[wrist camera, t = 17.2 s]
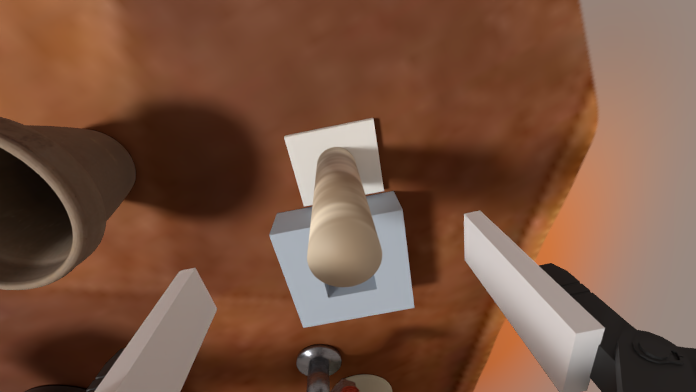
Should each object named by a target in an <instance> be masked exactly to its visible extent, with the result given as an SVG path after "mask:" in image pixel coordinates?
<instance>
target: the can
mask: <svg viewBox="0 0 696 392" xmlns="http://www.w3.org/2000/svg"><path fill="white" fill-rule="evenodd" d="M345 379H347V380H350V381H353V382H355V386H356V387H357V388H358V389H359V392H392V388H391V386H390V384H389V383H388V382H387V381H386V380H385V379H383V378H381V377H379V376H375V375H369V374H361V375H354V376H350V377H347V378H345ZM338 383H339V382H338ZM338 383H337V384H338ZM337 384H336V385H337ZM336 385H335V386H336ZM335 386H334V387H335Z"/></svg>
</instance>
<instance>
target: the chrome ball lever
mask: <svg viewBox="0 0 696 392" xmlns="http://www.w3.org/2000/svg"><path fill="white" fill-rule="evenodd" d="M330 392H359V389H358V388H357V387H356V386H355V382H353V381H350V380H347V379H344V378H342V379H341V380H340V381H339V383H338V384H337V385H336V386H335V387H334V388H333V389H332V390H331V391H330Z"/></svg>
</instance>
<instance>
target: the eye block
mask: <svg viewBox="0 0 696 392" xmlns="http://www.w3.org/2000/svg"><path fill="white" fill-rule="evenodd" d="M366 199H367V202H368V205H369V208H370V212H371V215H372V218H373V222H374V225H375V228H376V232H377V235H378V238H379V242H380V245H381V249H382V261H381V264H380V267H379V269H378V270H377V272H376V273H375V274H374V275H373V276H372V277H371V278H370V279H368V280H367V281H365V282H363V283H361V284H359V285H356V286H351V287H335V286H331V285H328V284H325V283H323V282H322V281H320V280H319V279H317V278H316V277H315V276H314V275H313V273H312V272H311V270H310V268H309V266H308V262H307V252H308V243H309V234H310V224H311V215H312V207H308V208H303V209H298V210H293V211H288V212H283V213H277V215H276V218H275V221H274V223H273V226H272V229H271V232H270V235H269V236H270V239H271V241H272V244H273V247H274V249H275V252H276V255H277V258H278V260H279V263H280V266H281V268H282V271H283V274H284V276H285V279H286V282H287V285H288V287H289V290H290V293H291V295H292V298H293V301H294V303H295V306H296V309H297V312H298V314H299V317H300V320H301V322H302V325H303V328H305V327H310V326H316V325H321V324H327V323H332V322H338V321H343V320H349V319H355V318H360V317H366V316H371V315H377V314H382V313H388V312H393V311H399V310H404V309H410V308H414V301H413V293H412V284H411V276H410V267H409V259H408V251H407V242H406V234H405V225H404V217H403V209H402V207H401V205H400V203H399V201H398V199H397V197H396V195H395V193H394V191H391V192H386V193H380V194H375V195H370V196H366Z"/></svg>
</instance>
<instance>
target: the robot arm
mask: <svg viewBox="0 0 696 392" xmlns="http://www.w3.org/2000/svg"><path fill="white" fill-rule="evenodd" d="M464 243H465V261H466V262H467V264H468V265H469V266H470V268H471V269H472V271H473V272H474V273H475V275H476V276H477V278H478V279H479V280H480V282H481V283H482V285H483V286H484V287H485V289H486V290H487V291H488V293H489V294H490V296H491V297H492V298H493V300H494V301H495V303H496V304H497V305H498V307H499V308H500V310H501V311H502V312H503V314H504V315H505V317H506V318H507V319H508V321H509V322H510V324H511V325H512V326H513V328H514V329H515V331H516V332H517V333H518V335H519V336H520V337H521V339H522V340H523V342H524V343H525V345H526V346H527V347H528V349H529V350H530V351H531V353H532V354H533V356H534V357H535V358H536V360H537V361H538V363H539V364H540V365H541V367H542V368H543V370H544V371H545V372H546V374H547V375H548V377H549V378H550V379H551V381H552V382H553V384H554V385H555V386H556V388H557V389H558V391H559V392H583V391H587V389H588V385H589V382H590V378H591V379H592V381H593V382H594V383H595V384H596V385H597V387H598V388H599V389H600V390H601V392H696V349H694V348H684V347H677V346H676V345H674V344H672V343H671V342H669V341H668V340H666V339H664V338H663V337H660V336H658V335H655V334H652V333H650V332H646V331H640V330H636V329H635V328H634V327H632V326H631V325H630V324H629V323H627V322H626V321H625V320H624V319H623V318H621V317H620V316H619V315H618V314H617V313H616V312H615V311H613V310H612V309H611V308H610V307H609V306H608V305H606V304H605V303H604V302H603V301H602V300H601V299H599V298H598V297H597V296H596V295H595V294H593V293H591V292H590V290H589V289H588V288H586V287H585V286H584V285H583V284H580V282H579V281H578V280H577V279H576V278H575V277H574V276H572V275H571V274H570V273H569V272H568V271H566V270H564V269H562V268H560V267H558V266H556V265H554V264H552V263H550V264H544V265H539V266H538V265H537V264H536V263H535V262H534V261H533V260H532V259H531V258H530V257H529V256H528V255H527V254H526V253H525V252H524V251H522V250H521V249H520V248H519V247H518V246H517V245H516V244H515V243H514V242H513V241H512V240H511V239H510V238H509V237H508V236H506V235H505V234H504V233H503V232H502V231H501V230H500V229H499V228H498V227H497V226H496V225H495V224H494V223H493V222H492V221H491V220H489V219H488V218H487V217H486V216H485V215H484V214H483V213H482V212H481V211H476V212H471V213H466V214H464ZM216 310H217V308H216V306H215V304H214V302H213V300H212V298H211V296H210V294H209V293H208V291H207V289H206V287H205V285H204V283H203V281H202V279H201V278H200V276H199V274H198V272H197V270H196V268H192V269H187V270H182V271H179V273H178V274H177V276H176V277H175V278H174V280H173V281H172V283H171V284H170V286H169V287H168V288H167V290H166V291H165V293H164V294H163V295H162V297H161V298H160V300H159V301H158V303H157V304H156V305H155V307H154V308H153V310H152V311H151V312H150V314H149V315H148V317H147V318H146V319H145V321H144V322H143V324H142V325H141V327H140V328H139V329H138V331H137V332H136V334H135V335H134V336H133V338H132V339H131V341H130V342H129V343H128V345H127V346H126V348H123V349H120V350H119V351H118V352H117V353H116V354H115V355H114V356H113V357H112V358H111V359H110V360H109V361H108V362H107V363H106V364H105V365H104V367H103V368H102V369H101V371H100V372H99V373H98V375H97V376H96V377H95V378H96V379H95V380H93V382H92V383H91V384H90V386H89V387H88V388H87V390H85V389H81V388H75V387H68V386H43V387H38V388H33V389H30V390H27V391H25V392H180V391H181V389H182V387H183V385H184V382H185V380H186V378H187V376H188V373H189V371H190V369H191V367H192V364H193V362H194V360H195V358H196V355H197V353H198V351H199V349H200V346H201V344H202V342H203V340H204V337H205V335H206V333H207V331H208V328H209V326H210V324H211V322H212V319H213V317H214V315H215V313H216Z"/></svg>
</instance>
